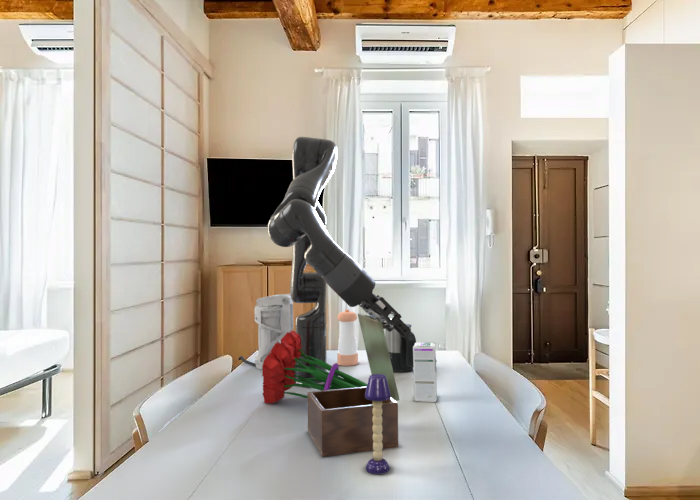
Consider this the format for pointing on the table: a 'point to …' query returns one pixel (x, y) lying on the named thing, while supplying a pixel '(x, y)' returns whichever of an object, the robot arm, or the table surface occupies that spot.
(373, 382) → the toy lamp
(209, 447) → the table surface
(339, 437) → the crate
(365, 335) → the green lid with handle
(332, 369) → the bouquet
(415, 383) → the syrup box
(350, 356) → the pepper shaker
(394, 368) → the milk frother
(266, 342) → the lantern
